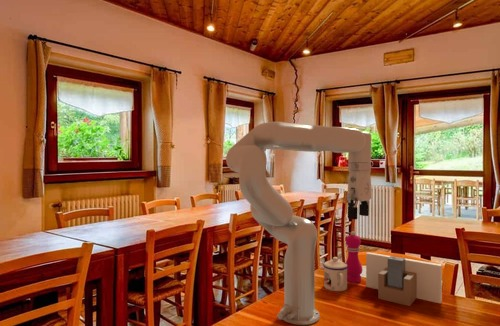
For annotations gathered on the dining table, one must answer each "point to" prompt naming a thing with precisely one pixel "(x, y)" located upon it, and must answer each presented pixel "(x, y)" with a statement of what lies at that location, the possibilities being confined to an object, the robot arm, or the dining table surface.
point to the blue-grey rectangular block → (396, 272)
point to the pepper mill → (353, 258)
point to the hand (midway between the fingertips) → (358, 217)
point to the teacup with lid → (335, 275)
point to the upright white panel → (405, 280)
